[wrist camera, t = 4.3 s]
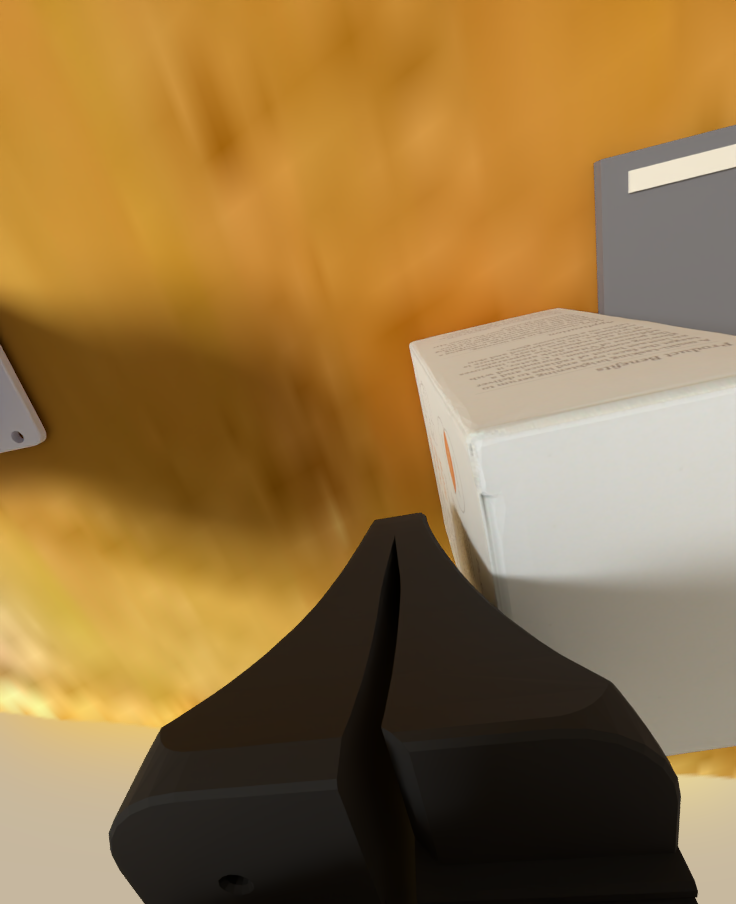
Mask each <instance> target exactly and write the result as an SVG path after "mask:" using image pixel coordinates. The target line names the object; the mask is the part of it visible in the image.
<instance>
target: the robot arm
mask: <svg viewBox="0 0 736 904" xmlns="http://www.w3.org/2000/svg"><path fill="white" fill-rule="evenodd" d="M19 433H21V434H22V435H23V437H24V439H23V438H21V437H20V435H19ZM45 439H46V431H45V429H44V427H43V425H42V423H41V421H40V419H39V417H38V415H37V414H36V412H35V410H34V408H33V406H32V404H31V402H30V400H29V398H28V396H27V394H26V393H25V391H24V389H23V387H22V385H21V383H20V381H19V379H18V377H17V375H16V373H15V372H14V370H13V368H12V366H11V364H10V362H9V360H8V358H7V356H6V354H5V352H4V351H3V349H2V347H1V345H0V453H3V452H7V451H12V450H17V449H22V448H26V447H31V446H35V445H38V444H40V443H42V442H44V440H45ZM680 801H681V795H680V789H679V783H678V777H677V776H676V774H675V772H674V771H673V769H672V767H671V764H670V762H669V760H668V759H667V757H666V755H665V754H664V752H663V750H662V749H661V747H660V745H659V744H658V742H657V741H656V740H655V738H654V737H653V735H652V734H651V732H650V731H649V729H648V728H647V726H646V725H645V724H644V722H643V721H642V720H641V718H640V717H639V715H638V714H637V713H636V711H635V710H634V709H633V707H632V706H631V705H630V704H629V702H628V701H627V700H626V698H625V697H624V696H623V695H622V693H621V692H620V691H619V690H618V689H617V687H616V686H615V685H614V684H613V683H612V682H611V681H609V680H607V679H606V678H604V677H602V676H600V675H598V674H596V673H594V672H593V671H591V670H589V669H587V668H585V667H583V666H581V665H579V664H578V663H576V662H574V661H572V660H570V659H568V658H566V657H565V656H563V655H561V654H559V653H558V652H556V651H555V650H553V649H552V648H550V647H548V646H547V645H545V644H544V643H542V642H541V641H539V640H538V639H536V638H535V637H534V636H532V635H531V634H530V633H528V632H527V631H526V630H524V629H523V628H522V627H520V626H519V625H518V624H516V623H515V622H513V621H512V620H511V619H509V618H508V617H507V616H506V615H504V614H503V613H502V612H501V611H500V610H499V609H497V608H496V607H495V606H494V605H493V604H492V603H490V602H489V601H488V600H487V599H486V598H485V597H484V596H483V595H482V594H481V593H480V592H479V591H478V590H477V589H476V588H475V587H474V586H473V585H472V584H471V583H470V582H469V581H468V580H467V579H466V578H465V577H464V575H463V574H462V573H461V572H460V571H459V570H458V568H457V567H456V566H455V565H454V564H453V562H452V561H451V560H450V558H449V557H448V556H447V554H446V553H445V552H444V550H443V549H442V547H441V546H440V544H439V543H438V541H437V540H436V538H435V536H434V535H433V533H432V531H431V529H430V527H429V525H428V522H427V518H426V516H425V515H424V514H422V513H415V514H409V515H403V516H397V517H391V518H385V519H378V520H375V521H374V522H373V523H372V525H371V526H370V528H369V530H368V531H367V533H366V535H365V537H364V538H363V540H362V542H361V543H360V545H359V547H358V548H357V550H356V551H355V553H354V554H353V556H352V558H351V559H350V561H349V562H348V564H347V565H346V567H345V568H344V570H343V571H342V572H341V574H340V575H339V577H338V578H337V579H336V581H335V582H334V583H333V585H332V586H331V587H330V589H329V590H328V591H327V593H326V594H325V595H324V596H323V598H322V599H321V600H320V601H319V602H318V604H317V605H316V606H315V607H314V608H313V609H312V610H311V611H310V612H309V613H308V615H307V616H306V617H305V618H304V619H303V620H302V621H301V622H300V623H299V624H298V625H297V626H296V627H295V628H294V629H293V630H292V631H291V632H290V633H288V634H287V635H286V636H285V637H284V638H283V639H282V640H281V641H280V642H279V643H278V644H276V645H275V646H274V647H273V648H272V649H271V650H270V651H269V652H268V653H267V654H265V655H264V656H263V657H262V658H261V659H259V660H258V661H257V662H256V663H254V664H253V665H252V666H251V667H249V668H248V669H247V670H246V671H244V672H243V673H242V674H240V675H239V676H238V677H236V678H235V679H234V680H232V681H231V682H230V683H229V684H227V685H226V686H224V687H223V688H222V689H220V690H219V691H217V692H216V693H215V694H213V695H212V696H210V697H209V698H207V699H206V700H204V701H202V702H201V703H199V704H198V705H196V706H195V707H193V708H192V709H190V710H189V711H187V712H186V713H184V714H183V715H181V716H180V717H178V718H177V719H175V720H173V721H172V722H170V723H169V724H167V725H165V726H164V727H162V728H161V730H160V732H159V733H158V735H157V737H156V739H155V741H154V742H153V745H152V746H151V748H150V750H149V752H148V754H147V755H146V757H145V759H144V761H143V763H142V766H141V767H140V770H139V771H138V773H137V775H136V777H135V779H134V781H133V783H132V785H131V787H130V789H129V791H128V793H127V795H126V797H125V799H124V801H123V803H122V805H121V807H120V809H119V811H118V813H117V815H116V817H115V819H114V821H113V824H112V826H111V829H110V831H109V841H110V850H111V853H112V856H113V858H114V860H115V862H116V864H117V866H118V868H119V870H120V871H121V873H122V874H123V875H124V877H125V878H126V879H127V881H128V882H129V883H130V885H131V886H132V887H133V889H134V890H135V891H136V893H137V894H138V895H139V897H140V898H141V899H142V901H143V902H144V903H145V904H698V903H697V901H696V899H695V897H697V894H698V890H697V887H696V884H695V881H694V878H693V876H692V874H691V872H690V870H689V868H688V866H687V864H686V862H685V860H684V858H683V856H682V854H681V852H680V850H679V848H678V834H679V818H680V817H679V816H680Z"/></svg>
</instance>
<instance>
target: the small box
mask: <svg viewBox="0 0 736 904" xmlns="http://www.w3.org/2000/svg"><path fill="white" fill-rule="evenodd" d="M409 348H410V352H411V356H412V361H413V366H414V371H415V376H416V382H417V386H418V391H419V396H420V401H421V406H422V411H423V416H424V421H425V426H426V431H427V436H428V441H429V447H430V452H431V457H432V462H433V467H434V472H435V477H436V482H437V487H438V492H439V497H440V502H441V507H442V512H443V518H444V524H445V528H446V532H447V535H448V538H449V542H450V546H451V549H452V553H453V556H454V559H455V563H456V566H457V568H458V570H459V571H460V572H461V573H462V574H463V575H464V577H465V578H466V579H467V580H468V581H469V582H470V583H471V584H472V585H473V586H474V587H475V588H476V589H477V590H478V591H479V592H480V593H481V594H482V595H483V596H484V597H485V598H486V599H487V600H488V601H489V602H490V603H492V604H493V605H494V606H495V607H496V608H497V609H499V610H500V611H501V612H502V613H503V614H504V615H506V616H507V617H508V618H509V619H511V620H512V621H513V622H515V623H516V624H518V625H519V626H520V627H522V628H523V629H524V630H526V631H527V632H528V633H530V634H531V635H532V636H534V637H535V638H536V639H538V640H539V641H541V642H542V643H544V644H545V645H547V646H548V647H550V648H552V649H553V650H555V651H556V652H558V653H559V654H561V655H563V656H565V657H566V658H568V659H570V660H572V661H574V662H576V663H578V664H579V665H581V666H583V667H585V668H587V669H589V670H591V671H593V672H594V673H596V674H598V675H600V676H602V677H604V678H606V679H607V680H609V681H611V682H612V683H613V684H614V685H615V686H616V687H617V689H618V690H619V691H620V692H621V693H622V695H623V696H624V697H625V698H626V700H627V701H628V702H629V704H630V705H631V706H632V707H633V709H634V710H635V711H636V713H637V714H638V715H639V717H640V718H641V720H642V721H643V722H644V724H645V725H646V726H647V728H648V729H649V731H650V732H651V734H652V735H653V737H654V738H655V740H656V741H657V742H658V744H659V745H660V747H661V749H662V750H663V752H664V754H665V755H666V756H670V755H676V754H683V753H690V752H697V751H704V750H711V749H718V748H725V747H732V746H736V336H733V335H728V334H722V333H715V332H708V331H702V330H695V329H688V328H682V327H676V326H670V325H665V324H660V323H655V322H649V321H642V320H633V319H626V318H621V317H614V316H607V315H601V314H595V313H590V312H583V311H576V310H569V309H562V308H556V309H551V310H546V311H541V312H537V313H532V314H528V315H523V316H519V317H514V318H510V319H506V320H501V321H497V322H493V323H489V324H485V325H480V326H476V327H472V328H467V329H463V330H459V331H455V332H450V333H446V334H442V335H438V336H434V337H430V338H426V339H422V340H418V341H414V342H411V343H410V345H409Z"/></svg>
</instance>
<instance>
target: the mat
mask: <svg viewBox="0 0 736 904" xmlns="http://www.w3.org/2000/svg"><path fill="white" fill-rule="evenodd" d="M594 184H595V216H596V249H597V282H598V314H601V315H607V316H614V317H621V318H626V319H633V320H642V321H649V322H655V323H660V324H665V325H670V326H676V327H682V328H688V329H695V330H702V331H708V332H715V333H722V334H728V335H733V336H736V125H733V126H729V127H726V128H722V129H718V130H714V131H710V132H706V133H702V134H699V135H695V136H691V137H687V138H683V139H679V140H675V141H671V142H668V143H664V144H660V145H656V146H652V147H648V148H644V149H641V150H637V151H633V152H629V153H625V154H621V155H617V156H614V157H610V158H606V159H602V160H599V161H597V162H595V163H594Z"/></svg>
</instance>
